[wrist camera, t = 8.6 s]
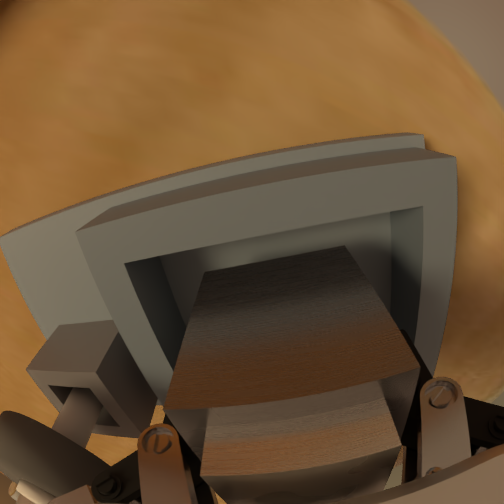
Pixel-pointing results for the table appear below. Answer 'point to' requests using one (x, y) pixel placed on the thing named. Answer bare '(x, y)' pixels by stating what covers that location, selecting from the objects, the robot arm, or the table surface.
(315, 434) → the beige block
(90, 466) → the round knob on base
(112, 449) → the table surface
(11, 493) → the ceramic mug
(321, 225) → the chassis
